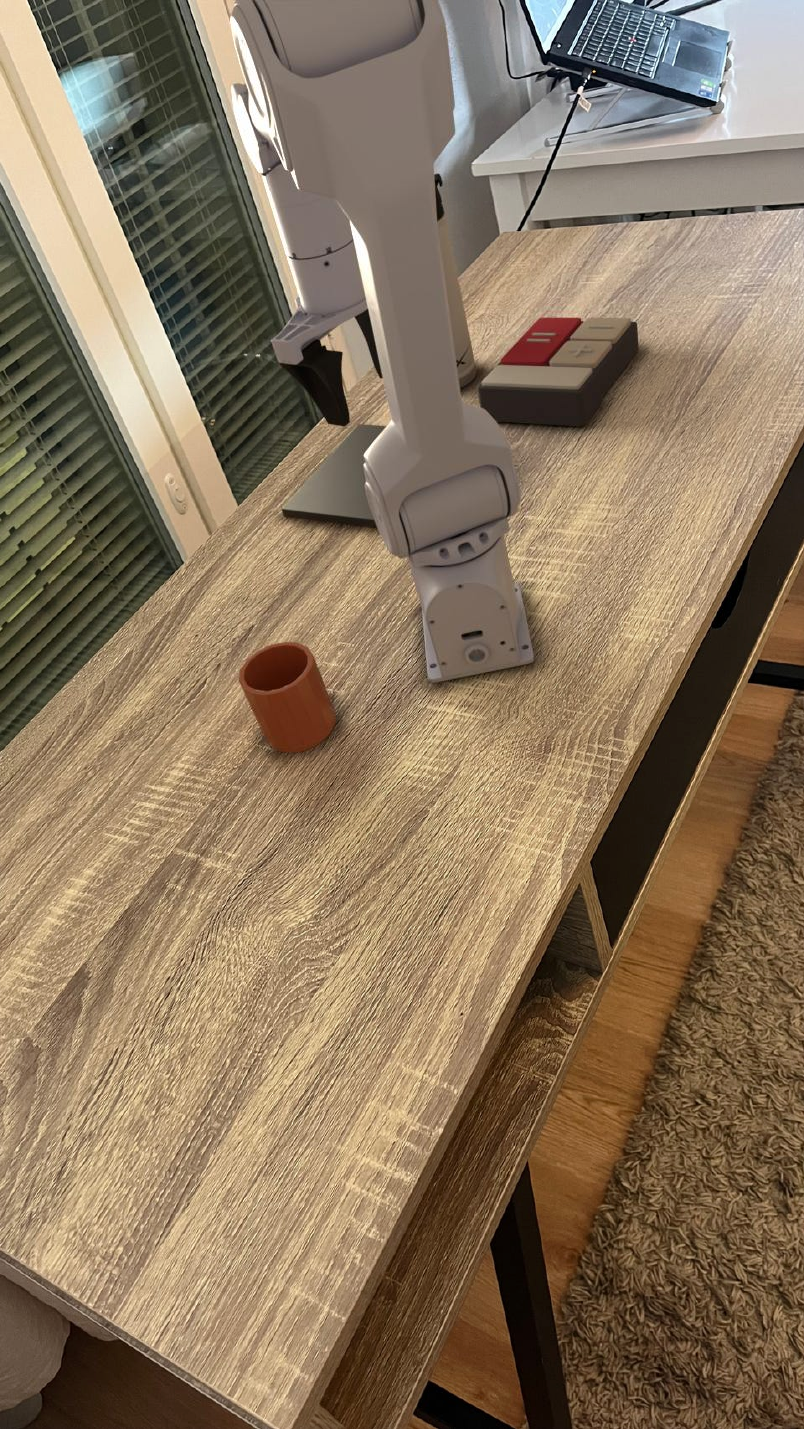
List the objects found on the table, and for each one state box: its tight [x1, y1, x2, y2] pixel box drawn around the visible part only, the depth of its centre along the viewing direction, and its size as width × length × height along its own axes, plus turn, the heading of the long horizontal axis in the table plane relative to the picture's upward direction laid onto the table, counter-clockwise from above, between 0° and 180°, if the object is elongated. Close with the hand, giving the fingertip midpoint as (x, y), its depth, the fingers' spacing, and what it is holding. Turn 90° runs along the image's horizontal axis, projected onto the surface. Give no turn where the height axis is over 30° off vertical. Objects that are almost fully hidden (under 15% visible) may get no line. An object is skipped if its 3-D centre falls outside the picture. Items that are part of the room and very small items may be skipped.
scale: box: [281, 423, 387, 529], centre depth 103 cm, size 15×12×2 cm
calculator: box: [476, 316, 640, 427], centre depth 106 cm, size 11×4×15 cm
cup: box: [238, 641, 337, 754], centre depth 78 cm, size 6×6×6 cm
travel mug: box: [434, 173, 478, 389], centre depth 107 cm, size 6×7×20 cm
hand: (365, 400), depth 93 cm, fingers open, 7 cm apart
